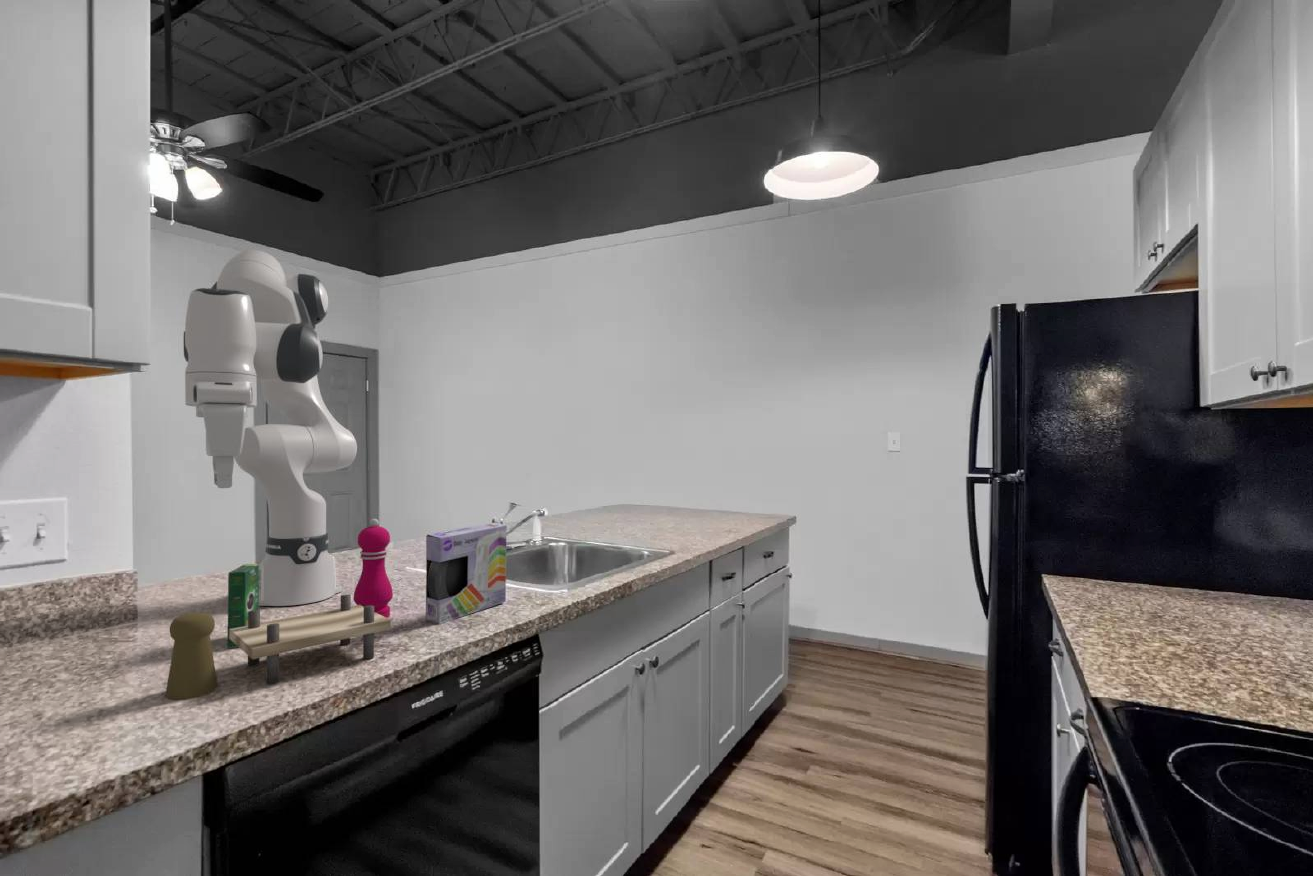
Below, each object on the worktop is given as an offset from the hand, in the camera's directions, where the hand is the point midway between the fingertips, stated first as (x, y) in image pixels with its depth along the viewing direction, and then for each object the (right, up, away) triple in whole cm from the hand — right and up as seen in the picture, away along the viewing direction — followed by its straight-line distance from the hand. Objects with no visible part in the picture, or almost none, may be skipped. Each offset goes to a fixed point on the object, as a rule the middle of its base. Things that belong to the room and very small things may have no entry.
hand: (222, 486), depth 93 cm
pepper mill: (+8, -29, +32) cm, 44 cm away
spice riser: (+9, -29, +8) cm, 32 cm away
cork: (-2, -29, -4) cm, 30 cm away
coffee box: (-9, -29, +18) cm, 35 cm away
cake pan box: (+25, -29, +36) cm, 53 cm away
